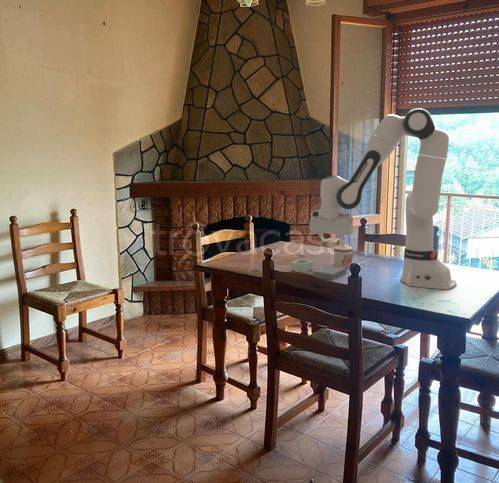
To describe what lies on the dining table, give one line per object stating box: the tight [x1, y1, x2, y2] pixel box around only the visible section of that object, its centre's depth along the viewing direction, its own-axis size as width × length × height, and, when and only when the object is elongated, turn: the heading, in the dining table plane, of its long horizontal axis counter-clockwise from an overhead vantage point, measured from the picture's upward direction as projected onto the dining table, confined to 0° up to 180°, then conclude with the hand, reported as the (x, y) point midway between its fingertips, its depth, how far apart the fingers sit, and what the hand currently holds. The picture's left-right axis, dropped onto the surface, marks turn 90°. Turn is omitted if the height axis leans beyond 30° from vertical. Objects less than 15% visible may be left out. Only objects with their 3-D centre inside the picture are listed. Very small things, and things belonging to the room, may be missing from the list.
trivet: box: [312, 265, 347, 281], centre depth 235 cm, size 10×13×2 cm
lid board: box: [319, 237, 344, 248], centre depth 232 cm, size 6×10×2 cm, turn 144°
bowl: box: [291, 258, 314, 274], centre depth 242 cm, size 7×7×4 cm
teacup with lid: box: [333, 241, 355, 269], centre depth 250 cm, size 12×9×12 cm
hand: (331, 243), depth 232 cm, fingers closed on lid board, 6 cm apart
